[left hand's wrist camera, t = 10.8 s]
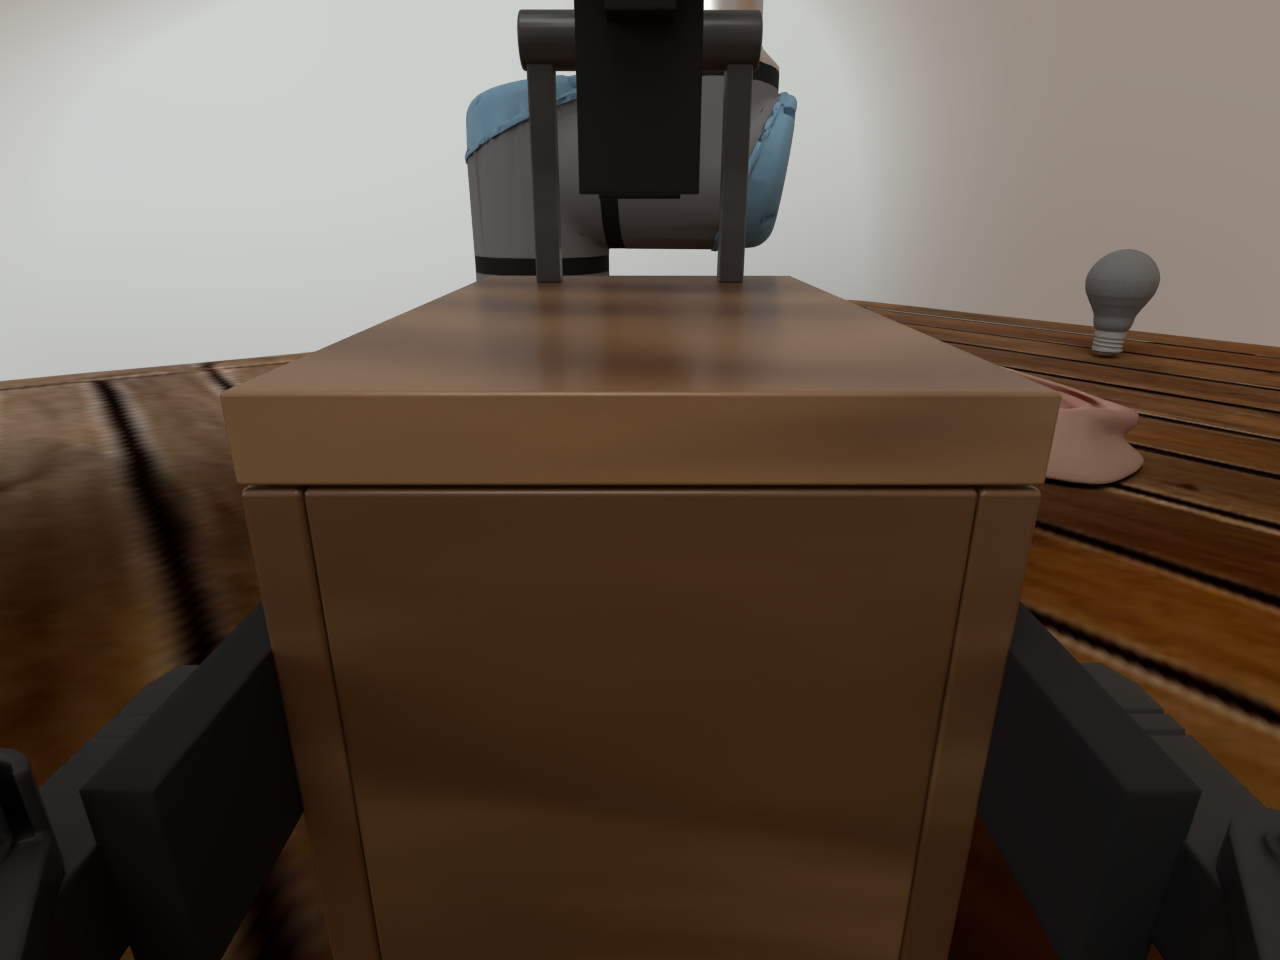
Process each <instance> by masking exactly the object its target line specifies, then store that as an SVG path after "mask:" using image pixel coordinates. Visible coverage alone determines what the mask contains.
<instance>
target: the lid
mask: <svg viewBox="0 0 1280 960" xmlns="http://www.w3.org/2000/svg"><path fill="white" fill-rule="evenodd" d="M517 31H518V47H519V55H520V61H521V65H522V68H523V70H525V71H527V84H528V106H529V128H530V149H531V171H532V193H533V215H534V236H535V258H536V276H488V277H486V278H484V279H482V280H479V281H477V282H475V283H472V284H470V285H468V286H465V287H463V288H461V289H458V290H456V291H454V292H452V293H449V294H447V295H445V296H442V297H440V298H438V299H435V300H433V301H431V302H429V303H426V304H424V305H422V306H419V307H417V308H415V309H412V310H410V311H408V312H405V313H403V314H401V315H399V316H396V317H394V318H392V319H389V320H387V321H385V322H382V323H380V324H378V325H375V326H373V327H371V328H369V329H366V330H364V331H362V332H359V333H357V334H355V335H352V336H350V337H348V338H346V339H343V340H341V341H339V342H336V343H334V344H332V345H329V346H327V347H325V348H322V349H320V350H318V351H316V352H313V353H311V354H309V355H306V356H304V357H302V358H299V359H297V360H295V361H293V362H290V363H288V364H286V365H283V366H281V367H279V368H276V369H274V370H272V371H269V372H267V373H265V374H263V375H260V376H258V377H256V378H253V379H251V380H249V381H246V382H244V383H242V384H240V385H237V386H235V387H233V388H230V389H228V390H226V391H223V392H221V394H220V399H221V404H222V409H223V414H224V419H225V424H226V429H227V434H228V439H229V444H230V449H231V454H232V459H233V464H234V469H235V474H236V479H237V482H238V484H240V485H1042V484H1044V482H1045V477H1046V473H1047V468H1048V463H1049V458H1050V453H1051V448H1052V443H1053V438H1054V433H1055V428H1056V423H1057V418H1058V413H1059V408H1060V403H1061V398H1062V396H1061V393H1060V392H1058V391H1055V390H1053V389H1051V388H1048V387H1046V386H1044V385H1041V384H1039V383H1037V382H1034V381H1032V380H1030V379H1027V378H1025V377H1023V376H1020V375H1018V374H1016V373H1013V372H1011V371H1009V370H1007V369H1004V368H1002V367H1000V366H997V365H995V364H993V363H990V362H988V361H986V360H983V359H981V358H979V357H976V356H974V355H972V354H969V353H967V352H965V351H962V350H960V349H958V348H955V347H953V346H951V345H948V344H946V343H944V342H941V341H939V340H937V339H935V338H932V337H930V336H928V335H925V334H923V333H921V332H918V331H916V330H914V329H911V328H909V327H907V326H904V325H902V324H900V323H897V322H895V321H893V320H890V319H888V318H886V317H883V316H881V315H879V314H876V313H874V312H872V311H870V310H867V309H865V308H863V307H860V306H858V305H856V304H853V303H851V302H849V301H846V300H844V299H842V298H839V297H837V296H835V295H832V294H830V293H828V292H825V291H823V290H821V289H818V288H816V287H814V286H811V285H809V284H807V283H804V282H802V281H800V280H798V279H795V278H793V277H791V276H743V272H744V251H745V230H746V209H747V188H748V167H749V145H750V124H751V103H752V82H753V71H756V70H757V68H758V65H759V61H760V55H761V47H762V31H763V22H762V14H761V11H760V10H704V22H703V61H702V71H724V96H723V124H722V152H721V180H720V208H719V237H718V265H717V276H563V275H562V246H561V216H560V187H559V158H558V128H557V99H556V71H576V52H575V15H574V10H520V11H519V13H518V22H517Z"/></svg>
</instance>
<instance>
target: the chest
mask: <svg viewBox="0 0 1280 960" xmlns="http://www.w3.org/2000/svg"><path fill="white" fill-rule="evenodd" d="M241 498H242V504H243V509H244V514H245V519H246V524H247V529H248V534H249V539H250V544H251V549H252V554H253V559H254V564H255V569H256V574H257V579H258V584H259V589H260V594H261V599H262V604H263V609H264V614H265V619H266V624H267V629H268V634H269V639H270V644H271V649H272V654H273V659H274V664H275V669H276V674H277V679H278V684H279V690H280V695H281V700H282V705H283V710H284V715H285V720H286V725H287V730H288V735H289V740H290V745H291V750H292V755H293V760H294V765H295V770H296V775H297V780H298V785H299V790H300V795H301V800H302V805H303V810H304V815H305V820H306V825H307V830H308V835H309V840H310V845H311V850H312V855H313V860H314V865H315V871H316V876H317V881H318V886H319V891H320V896H321V901H322V906H323V911H324V916H325V921H326V926H327V931H328V936H329V941H330V946H331V951H332V956H333V960H947V959H948V954H949V949H950V945H951V940H952V935H953V930H954V925H955V920H956V915H957V910H958V905H959V900H960V895H961V890H962V885H963V880H964V875H965V870H966V865H967V860H968V855H969V850H970V845H971V840H972V835H973V830H974V825H975V820H976V815H977V809H978V804H979V799H980V794H981V789H982V784H983V779H984V774H985V769H986V764H987V759H988V754H989V749H990V744H991V739H992V734H993V729H994V724H995V719H996V714H997V709H998V704H999V699H1000V694H1001V689H1002V684H1003V679H1004V674H1005V669H1006V664H1007V659H1008V654H1009V650H1010V647H1011V642H1012V637H1013V632H1014V627H1015V622H1016V617H1017V612H1018V607H1019V602H1020V597H1021V592H1022V587H1023V582H1024V577H1025V572H1026V567H1027V562H1028V557H1029V552H1030V547H1031V543H1032V538H1033V533H1034V528H1035V523H1036V518H1037V513H1038V508H1039V503H1040V498H1041V495H1040V491H1039V490H1038V489H1037V488H1035V487H1034V486H1032V485H249V486H248V487H246V488H245V489H244V490H243V491H242V494H241Z"/></svg>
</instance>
